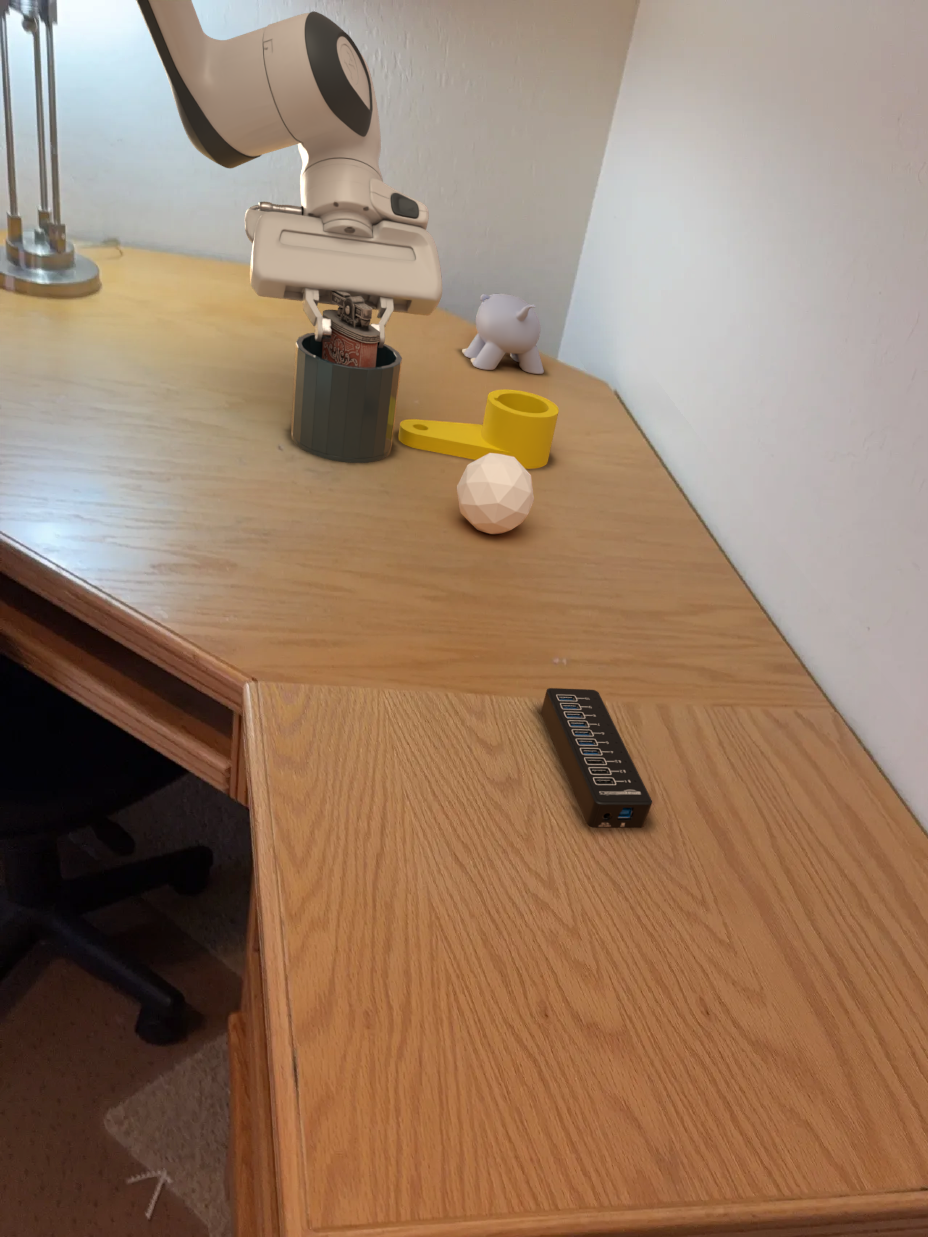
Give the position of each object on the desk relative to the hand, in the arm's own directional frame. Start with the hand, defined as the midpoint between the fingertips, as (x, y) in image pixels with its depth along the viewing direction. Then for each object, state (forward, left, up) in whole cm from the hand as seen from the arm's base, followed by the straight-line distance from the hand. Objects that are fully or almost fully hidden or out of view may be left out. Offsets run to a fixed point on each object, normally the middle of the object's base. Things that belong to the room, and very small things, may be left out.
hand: (350, 341), depth 112 cm
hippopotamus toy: (+29, +36, -11) cm, 47 cm away
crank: (+16, +2, -11) cm, 20 cm away
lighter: (0, +1, -6) cm, 6 cm away
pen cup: (0, +1, -11) cm, 11 cm away
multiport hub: (+9, -59, -11) cm, 61 cm away
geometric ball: (+12, -19, -11) cm, 25 cm away
